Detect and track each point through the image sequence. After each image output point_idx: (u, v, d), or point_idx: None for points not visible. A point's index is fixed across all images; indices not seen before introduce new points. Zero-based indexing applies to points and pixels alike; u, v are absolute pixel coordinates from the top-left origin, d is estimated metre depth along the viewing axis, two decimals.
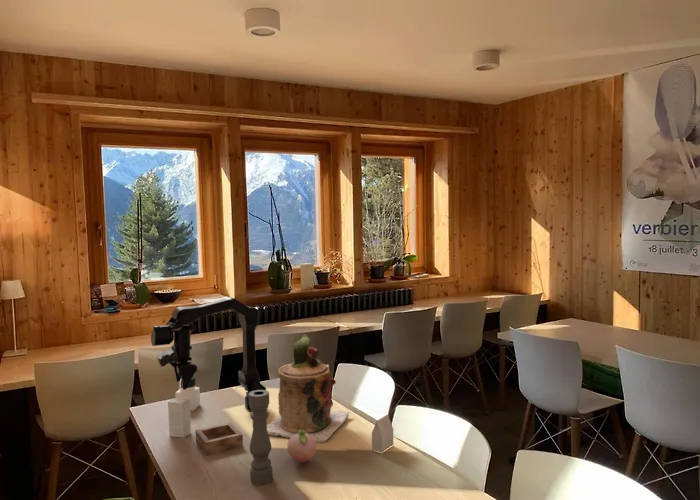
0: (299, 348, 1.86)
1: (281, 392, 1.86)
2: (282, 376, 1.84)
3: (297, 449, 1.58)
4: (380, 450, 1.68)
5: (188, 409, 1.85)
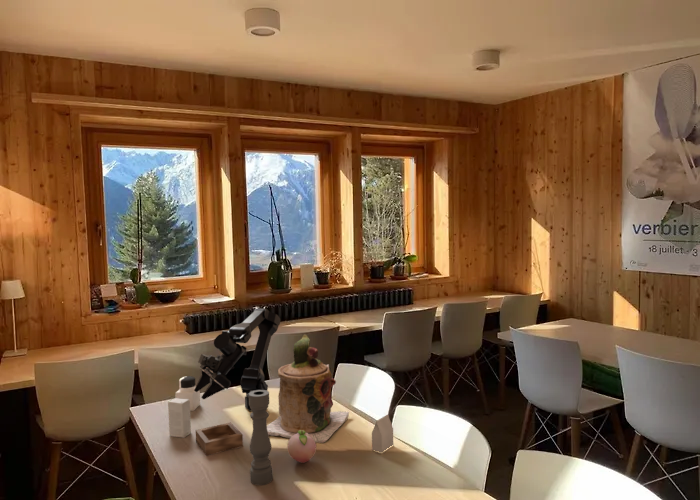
0: (299, 348, 1.85)
1: (281, 392, 1.86)
2: (282, 376, 1.84)
3: (297, 449, 1.58)
4: (380, 450, 1.68)
5: (188, 409, 1.85)
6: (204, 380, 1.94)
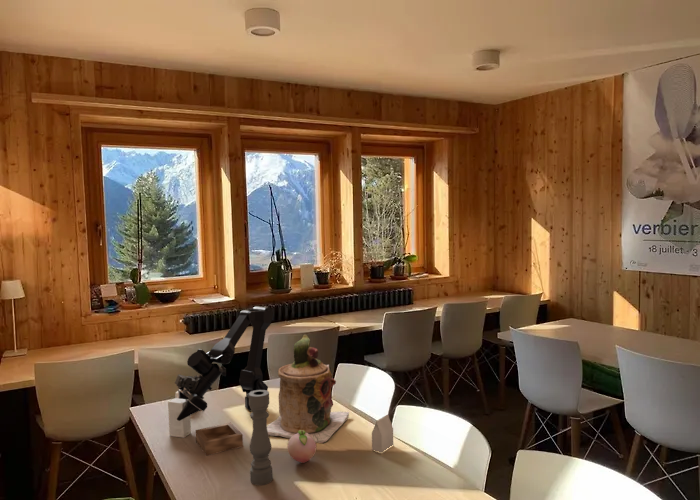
0: (299, 348, 1.85)
1: (281, 392, 1.86)
2: (282, 376, 1.84)
3: (297, 449, 1.58)
4: (380, 450, 1.68)
5: None
6: None
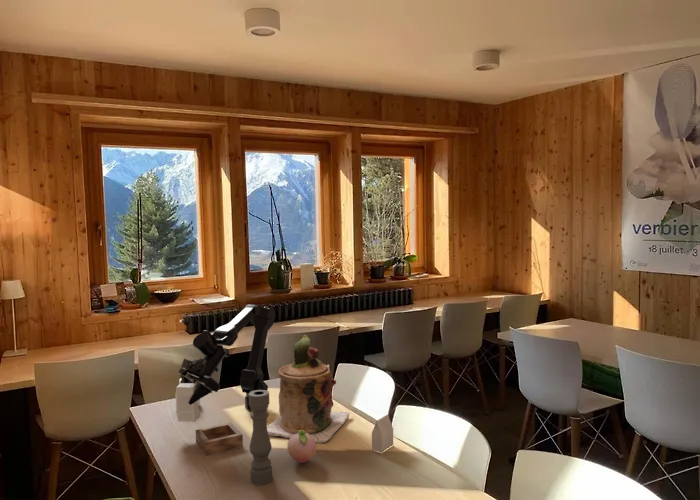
0: (299, 349, 1.85)
1: (281, 392, 1.85)
2: (282, 376, 1.83)
3: (297, 449, 1.58)
4: (380, 450, 1.68)
5: None
6: None
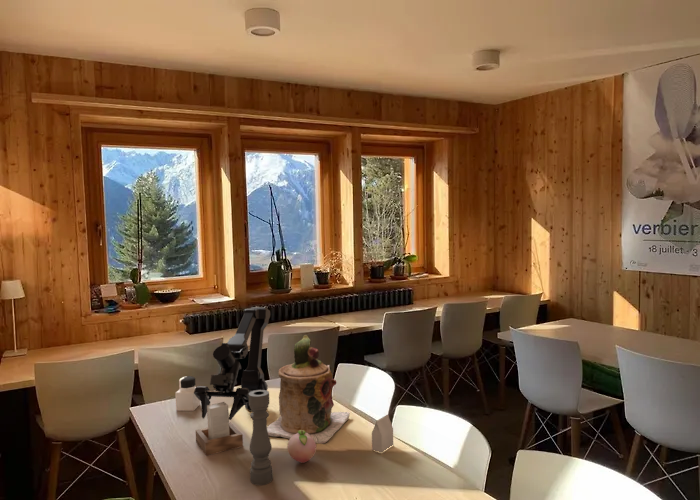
0: (299, 349, 1.85)
1: (282, 393, 1.85)
2: (283, 377, 1.83)
3: (297, 449, 1.58)
4: (380, 450, 1.68)
5: None
6: (206, 404, 1.79)
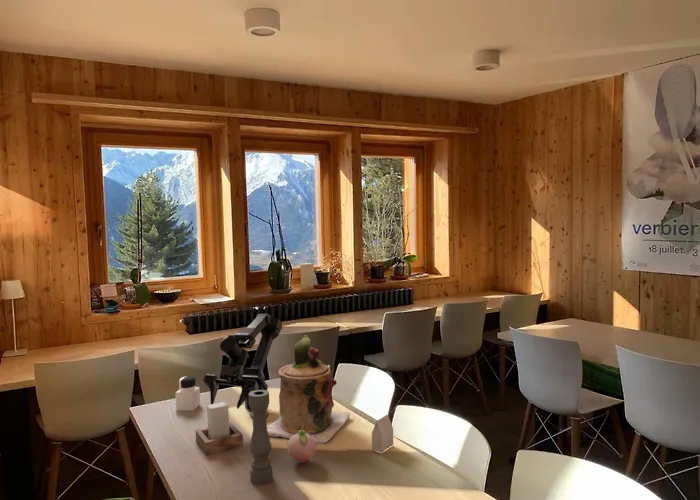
0: (300, 349, 1.85)
1: (282, 393, 1.85)
2: (283, 377, 1.83)
3: (297, 449, 1.58)
4: (380, 450, 1.68)
5: None
6: (215, 391, 1.89)
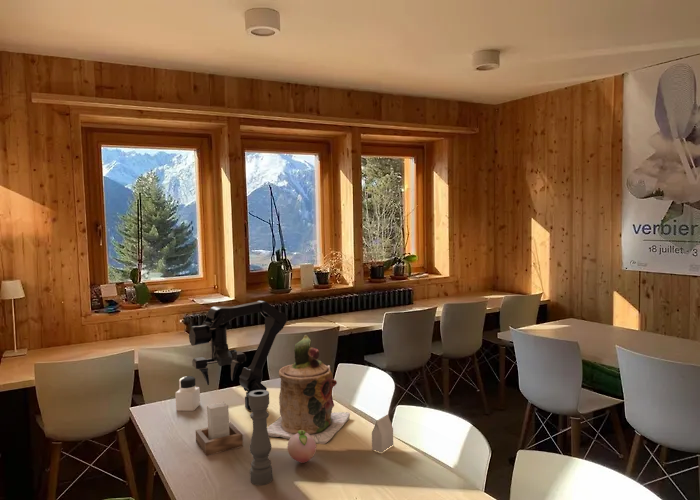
0: (300, 349, 1.85)
1: (282, 393, 1.85)
2: (283, 377, 1.83)
3: (297, 449, 1.58)
4: (380, 450, 1.68)
5: None
6: None
